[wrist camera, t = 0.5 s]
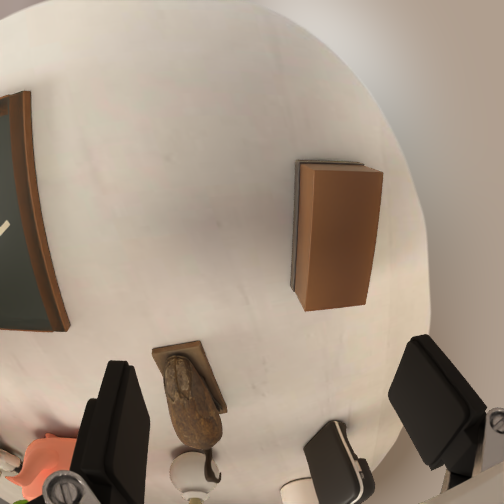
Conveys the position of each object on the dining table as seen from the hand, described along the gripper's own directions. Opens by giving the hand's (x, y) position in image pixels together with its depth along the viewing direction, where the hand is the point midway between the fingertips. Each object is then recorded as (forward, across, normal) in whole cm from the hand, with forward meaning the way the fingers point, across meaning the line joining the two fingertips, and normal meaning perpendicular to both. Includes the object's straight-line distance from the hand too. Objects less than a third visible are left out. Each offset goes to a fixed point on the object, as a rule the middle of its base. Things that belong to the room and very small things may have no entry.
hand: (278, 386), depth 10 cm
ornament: (+15, +6, +30) cm, 34 cm away
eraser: (+15, -7, 0) cm, 16 cm away
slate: (+15, +25, -2) cm, 30 cm away
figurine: (+15, +4, +17) cm, 23 cm away
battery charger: (+15, -11, +28) cm, 33 cm away
